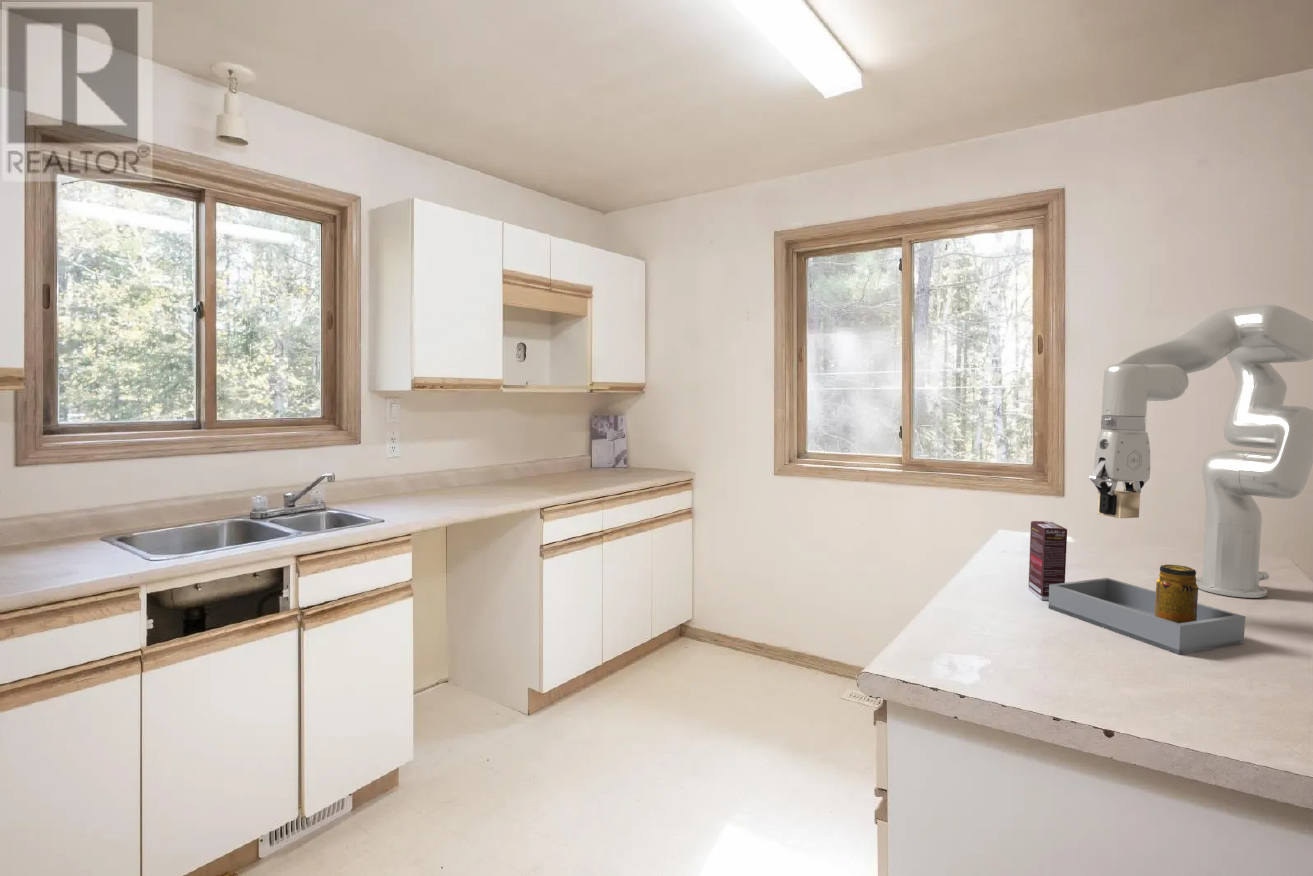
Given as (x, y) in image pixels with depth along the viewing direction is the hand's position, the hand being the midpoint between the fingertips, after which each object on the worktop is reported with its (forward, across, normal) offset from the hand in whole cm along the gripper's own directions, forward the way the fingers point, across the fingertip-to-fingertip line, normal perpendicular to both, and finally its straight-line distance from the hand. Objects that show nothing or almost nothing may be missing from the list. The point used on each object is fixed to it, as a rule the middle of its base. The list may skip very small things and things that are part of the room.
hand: (1118, 512), depth 137 cm
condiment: (+20, -4, -16) cm, 26 cm away
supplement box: (+21, -5, +11) cm, 24 cm away
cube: (+1, 0, 0) cm, 1 cm away
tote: (+20, -4, -9) cm, 22 cm away
